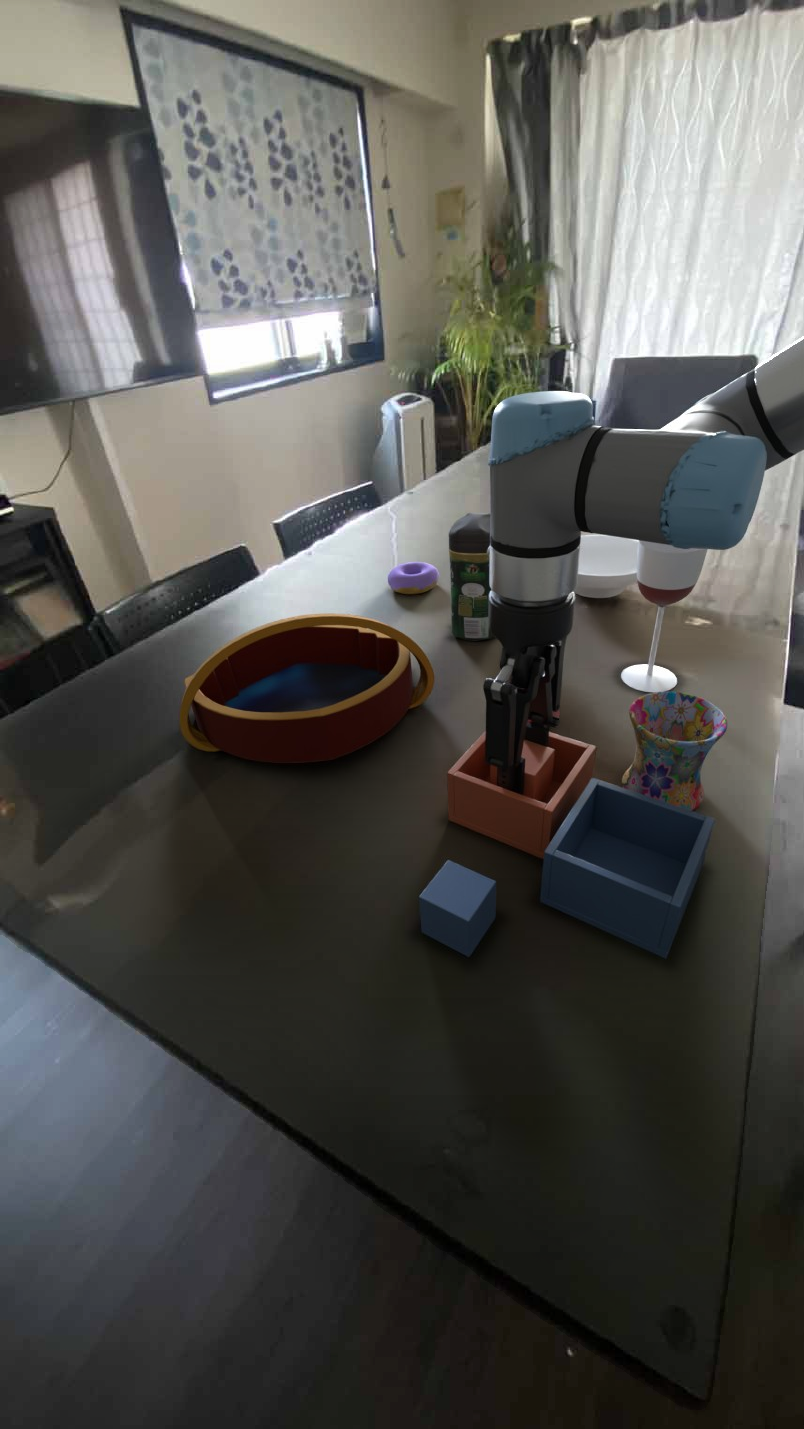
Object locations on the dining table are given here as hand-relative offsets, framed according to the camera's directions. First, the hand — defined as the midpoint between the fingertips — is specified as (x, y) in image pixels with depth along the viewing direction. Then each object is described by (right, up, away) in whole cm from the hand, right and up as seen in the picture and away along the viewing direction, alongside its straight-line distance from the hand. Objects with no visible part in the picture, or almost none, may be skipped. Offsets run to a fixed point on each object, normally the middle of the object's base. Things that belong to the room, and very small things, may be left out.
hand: (521, 788), depth 69 cm
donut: (-11, +32, +53) cm, 63 cm away
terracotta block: (0, 0, 0) cm, 0 cm away
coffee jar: (-1, +22, +37) cm, 43 cm away
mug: (+16, 0, +3) cm, 17 cm away
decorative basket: (-25, +7, +19) cm, 32 cm away
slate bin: (+8, -8, -8) cm, 14 cm away
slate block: (-8, -11, -11) cm, 17 cm away
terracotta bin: (0, -2, +2) cm, 3 cm away
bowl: (+22, +30, +46) cm, 60 cm away
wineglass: (+22, +13, +21) cm, 33 cm away
